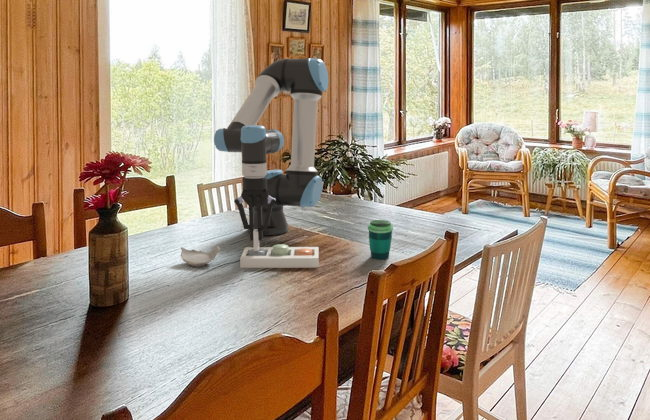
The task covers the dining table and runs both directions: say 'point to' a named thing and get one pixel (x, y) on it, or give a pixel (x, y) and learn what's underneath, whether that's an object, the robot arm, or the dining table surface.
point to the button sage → (280, 250)
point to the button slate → (257, 252)
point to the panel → (280, 259)
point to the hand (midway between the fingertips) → (256, 250)
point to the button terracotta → (304, 252)
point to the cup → (380, 238)
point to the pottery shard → (198, 256)
